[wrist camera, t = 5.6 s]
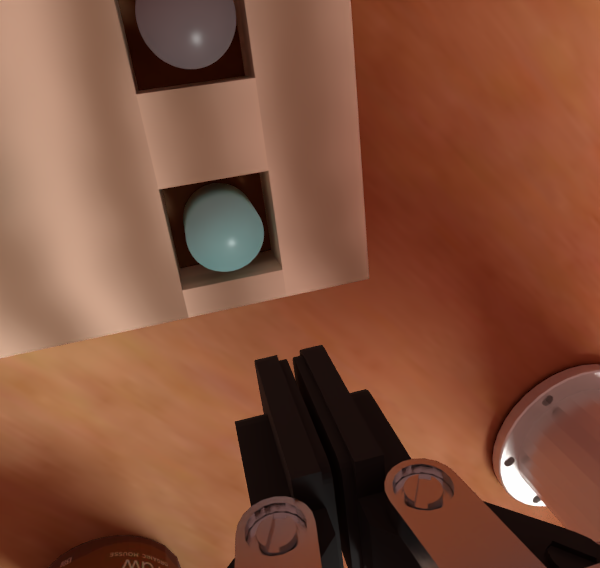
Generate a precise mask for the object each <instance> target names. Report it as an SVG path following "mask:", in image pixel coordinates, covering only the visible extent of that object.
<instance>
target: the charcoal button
mask: <svg viewBox="0 0 600 568" xmlns="http://www.w3.org/2000/svg"><path fill="white" fill-rule="evenodd" d="M135 14H136V21H137V25H138V28H139V31H140V33H141V36H142V37H143V39H144V41H145V43H146V44H147V46H148V47H149V48H150V49H151V51H152V52H153V53H154V54H155V55H156V56H157V57H159V58H160V59H161V60H163V61H164V62H166V63H168V64H170V65H172V66H175V67H178V68H183V69H199V68H203V67H206V66H209V65H211V64H212V63H214V62H216V61H217V60H218V59H220V58H221V57H222V56H223V55H224V53H225V52H226V51H227V49H228V48H229V46H230V44H231V42H232V39H233V37H234V33H235V28H236V10H235V6H234V2H233V0H136V4H135Z"/></svg>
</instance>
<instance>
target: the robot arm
mask: <svg viewBox="0 0 600 568" xmlns="http://www.w3.org/2000/svg"><path fill="white" fill-rule="evenodd" d="M293 365H294V372H295V378H294V376H293V373H292V371H291V368H290V366H289V363H288V361H287V359H285V360H280V361H279V360H278V357H277V355H276V356H271V357H267V358H262V359H258V360H255V368H256V373H257V379H258V384H259V390H260V395H261V401H262V406H263V412H264V415H260V416H256V417H252V418H247V419H243V420H239V421H235V425H236V431H237V436H238V441H239V446H240V451H241V456H242V461H243V467H244V472H245V477H246V482H247V487H248V492H249V498H250V503H251V507H250V508H249V509H248V510H247V511H246V512H245V513H244V514H243V516H242V518H241V519H240V521H239V523H238V526H237V530H236V539H235V558H234V559H233V561H232V562H231V563H230V565H229V566H228V567H227V568H344V566H343V558H342V553H343V555H344V558H345V561H346V564H347V566H348V568H600V365H599V364H590V365H581V366H577V367H573V368H570V369H566V370H564V371H562V372H559V373H557V374H555V375H553V376H551V377H549V378H548V379H546V380H544V381H543V382H541V383H540V384H538V385H537V386H536V387H534V388H533V389H532V390H531V391H529V392H528V393H527V394H526V395H525V396H524V397H523V398H522V399H521V400H520V401H519V402H518V403H517V404H516V405H515V406H514V408H513V409H512V410H511V412H510V413H509V415H508V416H507V417H506V419H505V421H504V423H503V425H502V426H501V428H500V430H499V432H498V435H497V438H496V441H495V445H494V450H493V459H492V460H493V467H494V472H495V475H496V477H497V479H498V481H499V482H500V484H501V485H502V486H503V488H504V489H505V490H506V492H507V493H508V494H510V495H511V496H512V497H513V498H514V499H516V500H518V501H520V502H522V503H524V504H528V505H532V506H547V507H548V508H549V510H550V511H551V512H552V513H553V514H554V515H555V517H556V518H557V519H558V520H559V521H560V522H561V523H562V525H563V526H564V527H565V528H566V529H565V528H562V527H559V526H556V525H553V524H550V523H547V522H544V521H541V520H538V519H535V518H532V517H529V516H526V515H523V514H520V513H517V512H514V511H511V510H508V509H505V508H502V507H499V506H496V505H493V504H490V503H487V502H484V501H482V500H481V499H480V498H479V497H478V496H477V495H476V494H475V493H474V492H473V491H472V489H471V488H470V487H469V486H468V485H467V484H466V483H465V482H464V481H463V480H462V479H461V478H460V477H459V476H458V475H457V474H456V473H455V472H454V471H453V470H452V469H450V468H449V467H448V466H446V465H444V464H442V463H440V462H438V461H435V460H430V459H425V458H422V459H411V458H410V456H409V455H408V453H407V451H406V450H405V448H404V446H403V445H402V443H401V442H400V440H399V438H398V437H397V435H396V434H395V432H394V430H393V429H392V427H391V426H390V424H389V422H388V421H387V419H386V418H385V416H384V414H383V413H382V411H381V410H380V408H379V406H378V405H377V403H376V401H375V400H374V398H373V397H372V395H371V394H370V392H369V391H368V390H366V389H365V390H361V391H357V392H353V393H349V391H348V390H347V388H346V386H345V384H344V383H343V381H342V379H341V377H340V375H339V374H338V372H337V370H336V368H335V366H334V365H333V363H332V361H331V359H330V357H329V356H328V354H327V352H326V350H325V348H324V347H323V345H319V346H315V347H311V348H306V349H302V350H300V356H298V357H294V358H293ZM295 379H296V381H295Z"/></svg>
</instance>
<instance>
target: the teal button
mask: <svg viewBox="0 0 600 568" xmlns="http://www.w3.org/2000/svg"><path fill="white" fill-rule="evenodd" d="M183 222H184V229H185V235H186V242H187V246H188V249H189V251H190V253H191V254H192V256H193V257H194V258H195V260H196V261H197V262H199V263H200V264H201V265H203V266H204V267H206V268H208V269H211V270H214V271H220V272H228V271H234V270H238V269H240V268H242V267H244V266H246V265H247V264H249V263H250V262H251V261H252V260H253V259H254V258H255V257H256V256H257V254H258V253H259V251H260V249H261V247H262V244H263V239H264V228H263V223H262V221H261V218H260V217H259V215H258V213H257V212H256V210H255V208H254V207H253V205H252V204H251V202H250V201H249V199H248V198H247V196H246V195H245V194H244V193H243V192H242V191H241V190H239V189H238V188H236V187H234V186H232V185H229V184H225V183H212V184H208V185H205V186H203V187H201V188H199V189H198V190H197V191H195V192H194V193H193V194H192V195H191V196H190V198H189V199H188V201H187V203H186V205H185V208H184V212H183Z"/></svg>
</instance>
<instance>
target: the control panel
mask: <svg viewBox="0 0 600 568" xmlns="http://www.w3.org/2000/svg"><path fill="white" fill-rule="evenodd" d="M234 6H235V10H236V19H237V26H238V33H239V39H240V46H241V53H242V59H243V66H244V73H245V76H240V77H233V78H226V79H218V80H211V81H204V82H197V83H189V84H182V85H175V86H168V87H160V88H153V89H146V90H138V85H137V81H136V77H135V72H134V68H133V64H132V59H131V55H130V51H129V47H128V42H127V38H126V34H125V29H124V25H123V21H122V16H121V12H120V8H119V4H118V0H0V358H4V357H9V356H13V355H18V354H22V353H27V352H32V351H36V350H41V349H46V348H50V347H55V346H60V345H64V344H69V343H74V342H78V341H83V340H87V339H92V338H97V337H101V336H106V335H111V334H115V333H120V332H125V331H129V330H134V329H139V328H143V327H148V326H153V325H157V324H162V323H166V322H171V321H176V320H180V319H185V318H190V317H194V316H199V315H204V314H208V313H213V312H218V311H222V310H227V309H231V308H236V307H241V306H245V305H250V304H255V303H259V302H264V301H269V300H273V299H278V298H283V297H287V296H292V295H296V294H301V293H306V292H310V291H315V290H320V289H324V288H329V287H334V286H338V285H343V284H348V283H352V282H357V281H361V280H366V279H369V268H368V253H367V238H366V223H365V208H364V193H363V178H362V163H361V148H360V133H359V118H358V103H357V88H356V73H355V58H354V43H353V28H352V13H351V0H234ZM258 172H259V173H260V179H261V186H262V193H263V199H264V206H265V213H266V219H267V226H268V233H269V239H270V246H271V250H270V251H265V252H260V253H258V254H257V256H256V257H255V258H254V259H253V260H252V261H251V262H250V263H249V264H247V265H246V266H244V267H242V268H240V269H238V270H234V271H228V272H220V271H214V270H211V269H208V268H206V267H204V266H203V265H201V264H200V265H195V266H189V267H184V268H180V266H179V262H178V257H177V253H176V249H175V244H174V240H173V236H172V232H171V227H170V223H169V219H168V214H167V210H166V206H165V201H164V197H163V193H162V189H165V188H170V187H176V186H182V185H188V184H194V183H200V182H205V181H211V180H217V179H223V178H229V177H235V176H240V175H246V174H252V173H258Z"/></svg>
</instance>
